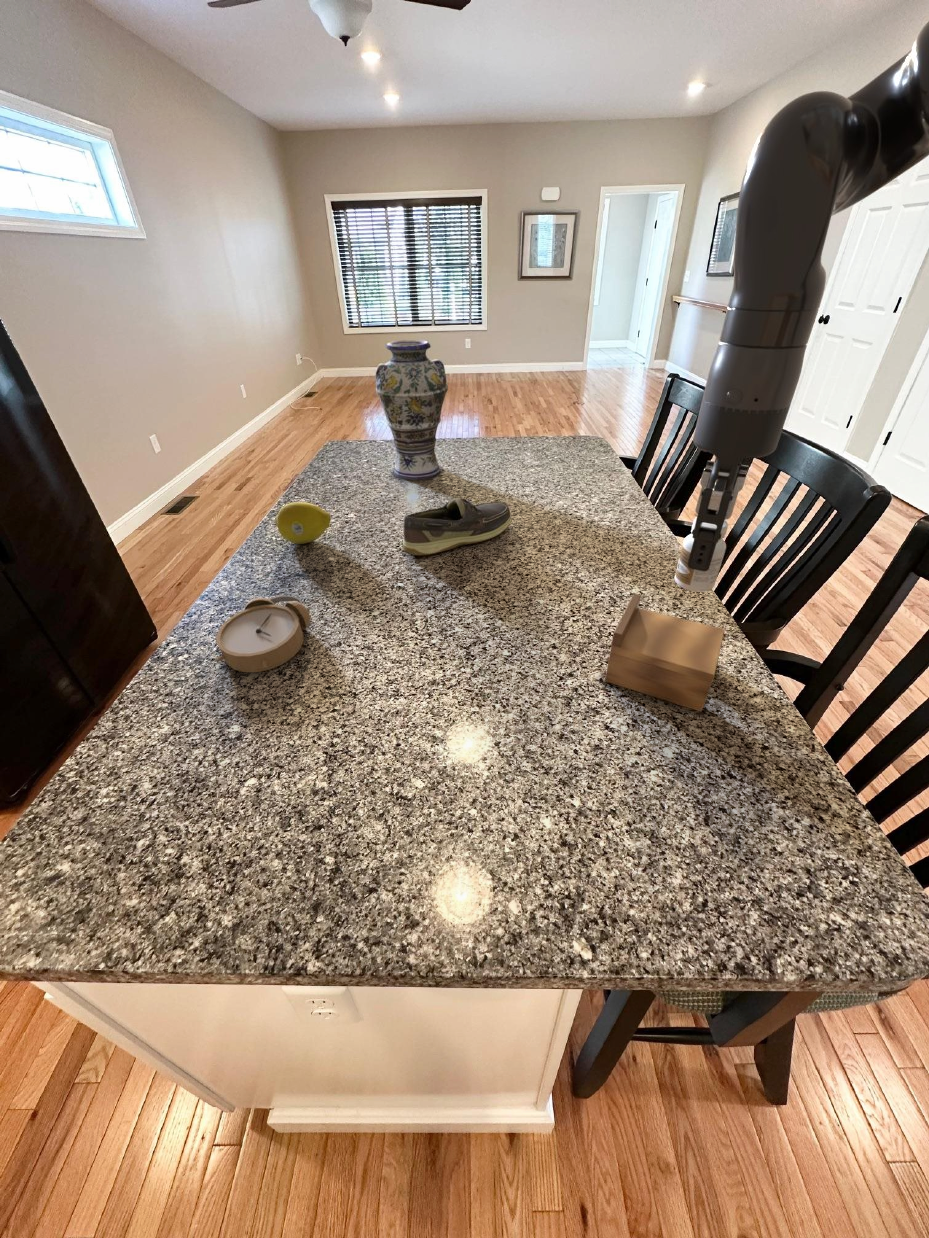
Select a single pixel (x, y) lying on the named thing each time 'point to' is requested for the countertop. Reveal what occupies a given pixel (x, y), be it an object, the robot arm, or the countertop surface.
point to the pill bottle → (696, 578)
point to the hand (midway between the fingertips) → (701, 557)
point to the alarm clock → (263, 634)
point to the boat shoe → (453, 526)
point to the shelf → (664, 656)
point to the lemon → (302, 522)
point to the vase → (412, 406)
